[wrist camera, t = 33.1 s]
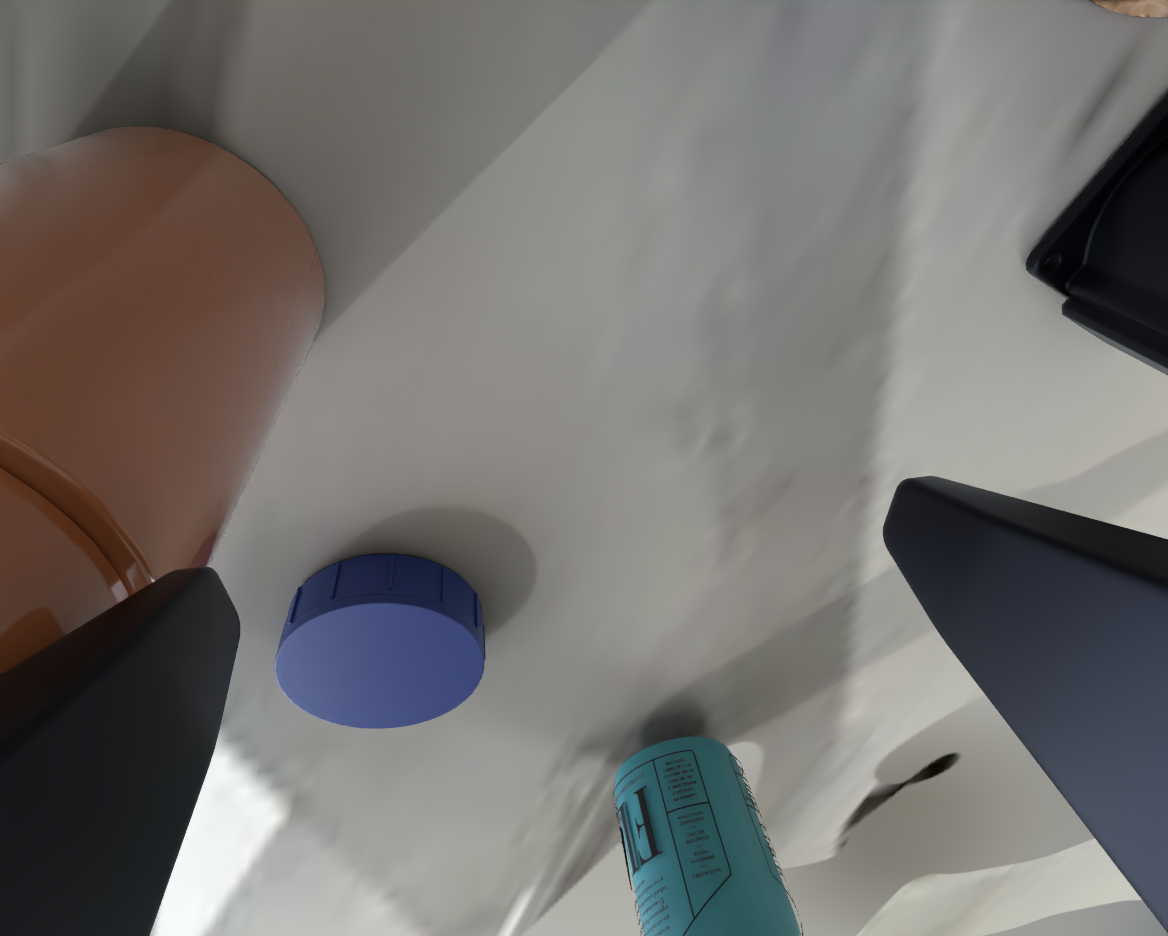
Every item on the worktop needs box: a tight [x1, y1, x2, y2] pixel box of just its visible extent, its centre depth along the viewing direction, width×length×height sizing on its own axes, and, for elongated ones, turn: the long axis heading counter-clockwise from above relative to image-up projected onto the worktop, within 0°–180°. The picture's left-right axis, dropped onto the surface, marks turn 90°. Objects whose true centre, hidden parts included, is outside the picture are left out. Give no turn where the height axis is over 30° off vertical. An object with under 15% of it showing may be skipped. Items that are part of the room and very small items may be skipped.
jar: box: [0, 126, 325, 675], centre depth 10 cm, size 6×6×13 cm
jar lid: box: [275, 554, 485, 729], centre depth 23 cm, size 7×7×2 cm
